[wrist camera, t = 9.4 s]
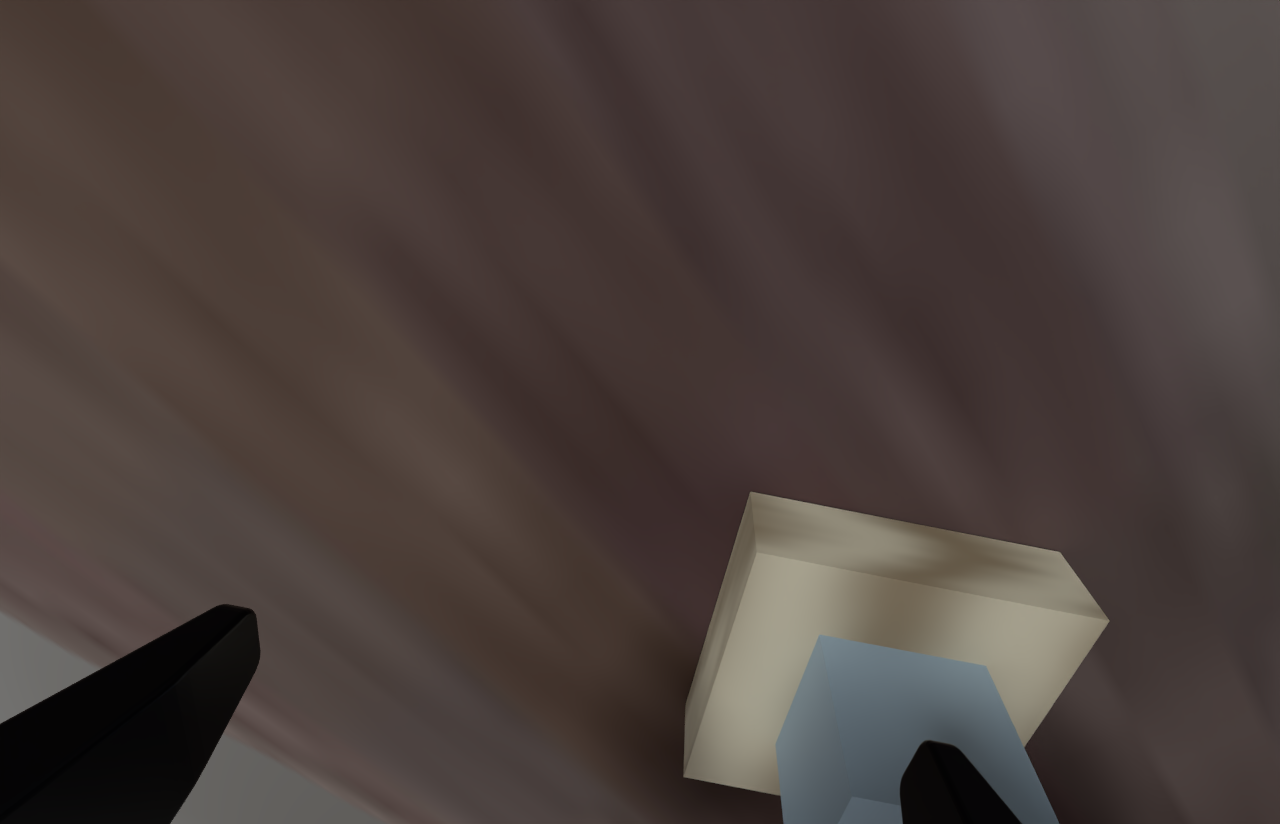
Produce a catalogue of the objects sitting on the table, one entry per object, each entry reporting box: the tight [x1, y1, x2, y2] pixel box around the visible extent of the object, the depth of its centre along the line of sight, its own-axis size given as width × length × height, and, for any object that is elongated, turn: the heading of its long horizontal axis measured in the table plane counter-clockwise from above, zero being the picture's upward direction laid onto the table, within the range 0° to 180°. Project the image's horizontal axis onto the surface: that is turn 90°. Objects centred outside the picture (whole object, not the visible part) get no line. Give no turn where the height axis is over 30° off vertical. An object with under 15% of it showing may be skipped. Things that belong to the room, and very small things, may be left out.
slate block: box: [775, 634, 1059, 824], centre depth 19 cm, size 5×5×5 cm
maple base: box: [683, 492, 1109, 796], centre depth 23 cm, size 10×10×3 cm
